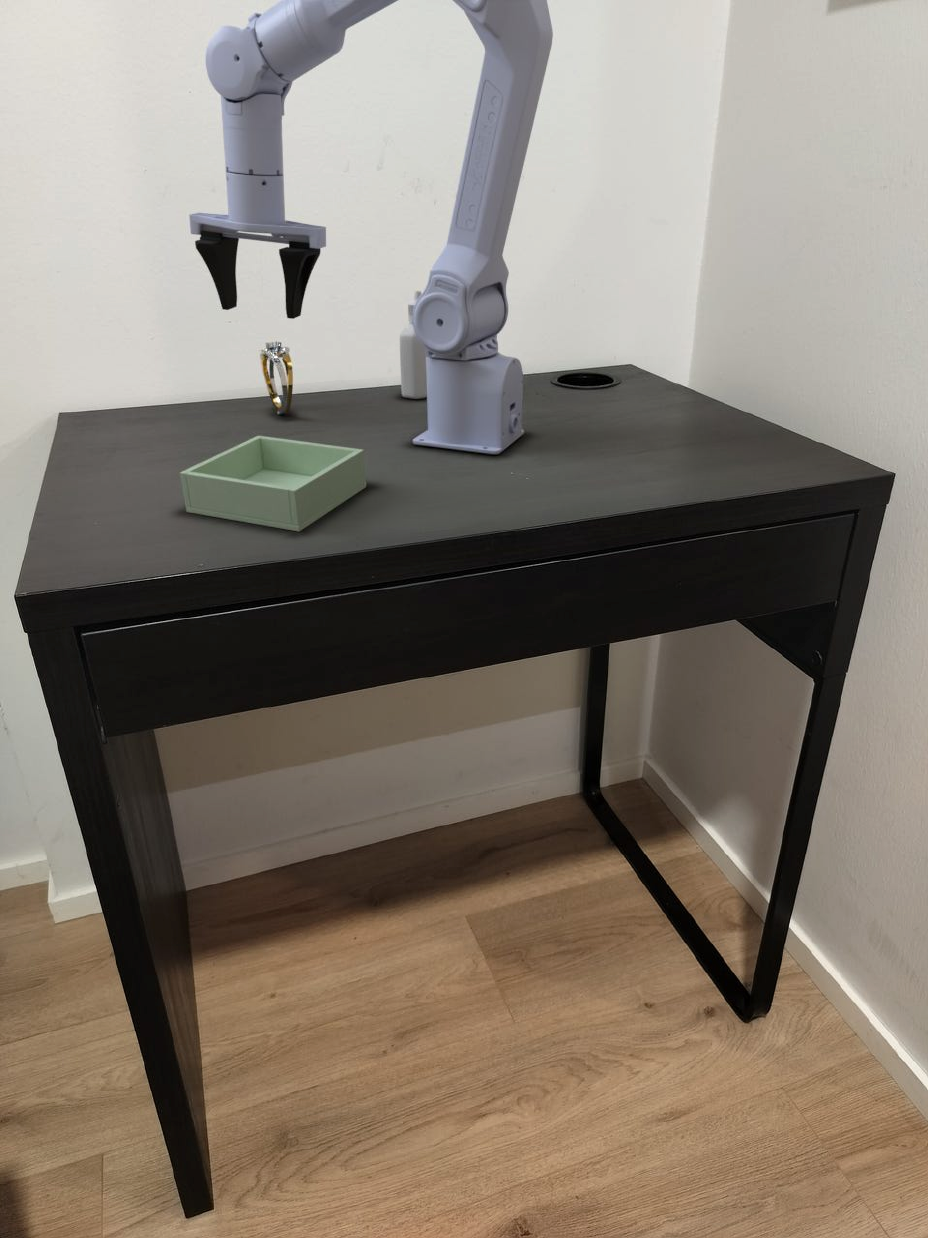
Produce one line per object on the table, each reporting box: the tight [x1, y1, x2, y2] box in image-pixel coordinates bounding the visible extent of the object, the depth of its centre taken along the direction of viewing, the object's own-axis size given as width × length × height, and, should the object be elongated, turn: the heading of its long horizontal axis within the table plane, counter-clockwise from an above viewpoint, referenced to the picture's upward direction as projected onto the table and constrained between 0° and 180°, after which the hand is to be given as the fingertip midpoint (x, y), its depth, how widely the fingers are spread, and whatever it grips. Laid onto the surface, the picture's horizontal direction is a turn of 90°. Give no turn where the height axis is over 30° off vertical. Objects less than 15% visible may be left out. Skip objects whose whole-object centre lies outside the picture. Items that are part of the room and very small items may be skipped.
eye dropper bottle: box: [399, 290, 427, 400], centre depth 105 cm, size 4×6×12 cm
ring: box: [258, 341, 294, 416], centre depth 99 cm, size 7×3×8 cm, turn 24°
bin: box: [179, 435, 367, 532], centre depth 76 cm, size 11×11×4 cm
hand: (261, 312), depth 96 cm, fingers open, 7 cm apart
